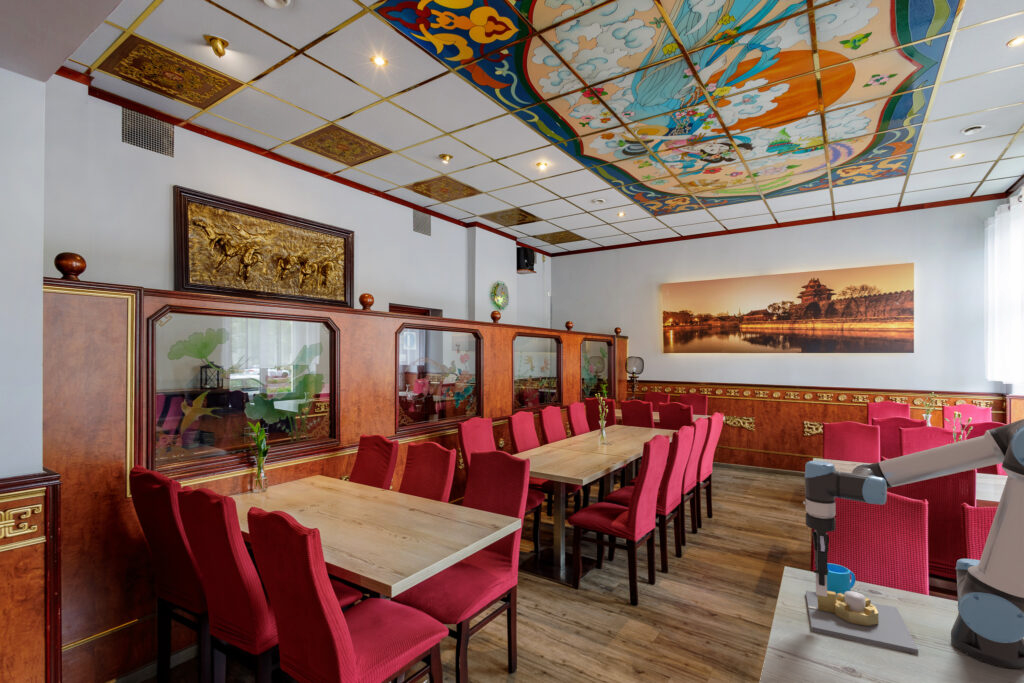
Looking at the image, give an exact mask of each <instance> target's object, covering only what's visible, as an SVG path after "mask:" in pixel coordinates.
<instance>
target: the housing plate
mask: <svg viewBox="0 0 1024 683" xmlns="http://www.w3.org/2000/svg"><path fill="white" fill-rule="evenodd" d="M805 597H806V604H807V609H808V614H809V615H808V617H809V621H810V628H811V632H816V633H818V634H824V635H828V636H833V637H837V638H843V639H847V640H850V641H855V642H861V643H865V644H870V645H874V646H877V647H884V648H888V649H893V650H897V651H902V652H906V653H912V654H915V655H919V648H918V646H917V644H916V642H915V640H914V639H913V637H912V634H911V633H910V631H909V629H908V627H907V625H906V623H905V621H904V619H903V617H902V615H901V613H900V611H899V609H898V608H897V606H891V605H886V604H881V603H875V602H871V604H872V605H874V606H875V607H876V609H877V611H878V620H879V624H875V625H871V626H864V625H859V624H854V623H849V622H848V621H846V620H844V619H842V618H840V617H838V616H837V615H835V613H833V612H828V611H823V610H818V601H817V595H816V591H811V590H805ZM865 597H866V596H865V595H863V594H862V593H860V592H857V591H853V590H850V591H846V592H845V603H847V604H849V609H851V610H855V611H860V612H864V607H865ZM836 598H837V596H836Z"/></svg>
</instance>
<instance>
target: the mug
mask: <svg viewBox="0 0 1024 683" xmlns="http://www.w3.org/2000/svg"><path fill="white" fill-rule="evenodd" d="M827 569H828V570H829V572H828V575H827V591H832V592H835V593H836V596H837V594H838V593H842V594H844V595H845V592H846V591H851V589H852V588H853V587H854V586H855V584H856V580H857V579H856V575H855V573H854V572H853V571H851V570H850V569H849V568H847V567H845V566H843V565H841V564H838V563H837V564H836V563H832V562H831V563H830V562H829V563H827Z"/></svg>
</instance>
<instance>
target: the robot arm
mask: <svg viewBox="0 0 1024 683" xmlns="http://www.w3.org/2000/svg"><path fill="white" fill-rule="evenodd" d="M998 464H1002V465H1001V469H1003V471H1004V472H1005V473H1006V476H1007V478H1006V481H1005V484H1004V488H1003V490H1002V492H1001V495H1000V499H999V502H998V504H997V509H996V510H995V514H994V517H993V520H992V522H991V526H990V528H989V532H988V535H987V538H986V540H985V541H986V542H985V544H984V547H983V550H982V553H981V556H980V559H974V558H960V559H959V558H958V560H957V561H956V566H955V570H956V582H957V585H956V587H957V588H956V589H957V590H956V591H957V610H958V613H957V616H956V618H955V621H954V623H953V624H952V625H953V626H952V628H951V631H950V640H951V643H952V644H953V646H955V647H956V649H958V650H959V651H961V652H962V653H964V654H966V655H967V656H970V657H972V658H973V659H976V660H979V661H981V662H983V663H986V664H991V665H992V666H993V665H994V666H997V667H1001V668H1007V669H1014V670H1022V669H1024V418H1023V419H1020V420H1016V421H1013V422H1010V423H1008V424H1007V423H1006V424H1005V425H1002V426H997V427H995V428H992V429H991V428H989V429H987V430H985V432H984V434H983V435H981V436H980V435H979V436H977V437H973V438H969V439H965V440H961V441H957V442H952V443H949V444H944V445H941V446H937V447H933V448H928V449H925V450H921V451H917V452H912V453H909V454H905V455H901V456H898V457H897V456H896V457H893V458H889V459H885V460H882V461H879V462H874V463H870V464H868V463H865V464H863V463H862V464H860V465H858V466H856V467H854V468H853V470H852V471H851V472H844V471H839V470H836V467H835V465H834V464H833V463H832V462H829V461H825V460H824V461H822V460H809V461H807V462H806V463H805V467H804V468H805V469H804V491H805V492H804V493H805V495H804V496H805V500H804V501H802V504H803V505H805V511H806V513H805V525H806V527H807V528H809V529H811V530H813V531H811V534H812V541H813V547H814V565H815V567H814V568H815V569H813V573H814V574H815V592H816V595H821V596H826V597H827V575H828V572H829V570H828V569H827V563H828V552H829V543H830V537H829V533H827V532H834V531H835V530H836V526H837V524H836V523H837V522H836V517H835V516H836V515H837V514H836V509H837V508H836V507H837V506H836V498H838V499H844V500H849V501H855V502H861V503H866V504H870V505H881V506H882V505H885V504H886V503H887V498H888V489H890V488H893V487H898V486H899V487H900V486H904V485H907V484H912V483H913V484H914V483H917V482H921V481H926V480H931V479H936V478H939V477H944V476H949V475H953V474H958V473H961V472H967V471H972V470H976V469H981V468H985V467H990V466H994V465H998Z"/></svg>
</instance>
